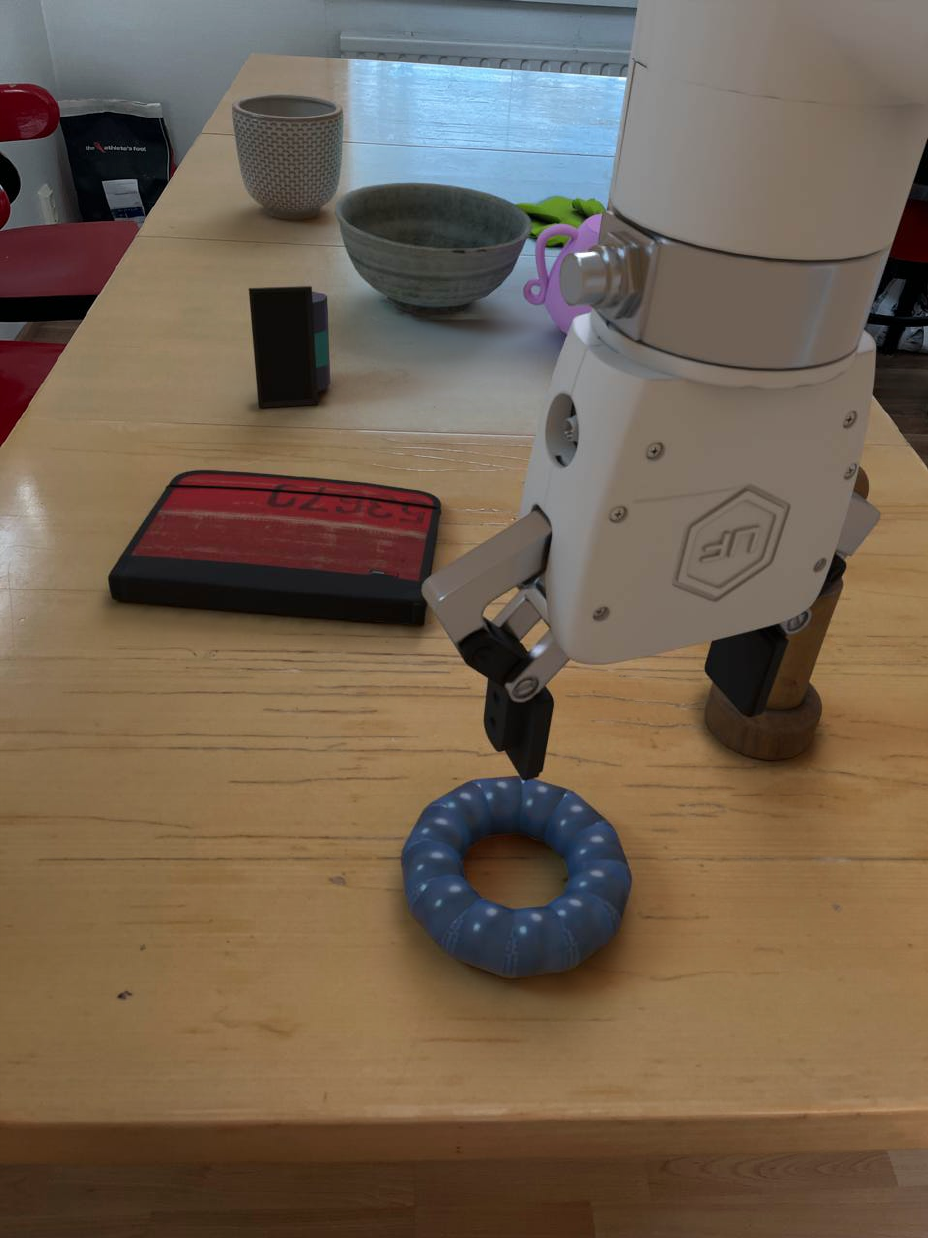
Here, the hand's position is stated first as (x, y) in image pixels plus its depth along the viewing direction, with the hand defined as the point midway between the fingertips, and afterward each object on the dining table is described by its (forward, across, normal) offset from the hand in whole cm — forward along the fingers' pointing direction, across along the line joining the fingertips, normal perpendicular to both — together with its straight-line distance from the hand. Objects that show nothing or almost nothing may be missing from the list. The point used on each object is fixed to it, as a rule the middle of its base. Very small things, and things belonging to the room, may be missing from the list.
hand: (627, 721), depth 39 cm
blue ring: (+14, -1, +4) cm, 14 cm away
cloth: (+16, +54, +101) cm, 116 cm away
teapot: (+16, +40, +63) cm, 76 cm away
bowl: (+16, +24, +78) cm, 83 cm away
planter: (+16, +18, +113) cm, 115 cm away
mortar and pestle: (+15, +18, +10) cm, 26 cm away
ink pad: (+16, -4, +37) cm, 40 cm away
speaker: (+16, +3, +62) cm, 64 cm away
